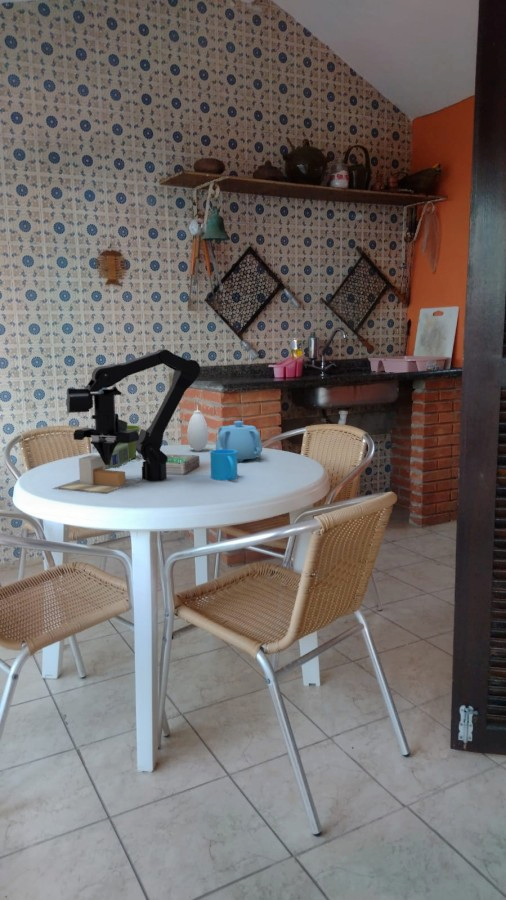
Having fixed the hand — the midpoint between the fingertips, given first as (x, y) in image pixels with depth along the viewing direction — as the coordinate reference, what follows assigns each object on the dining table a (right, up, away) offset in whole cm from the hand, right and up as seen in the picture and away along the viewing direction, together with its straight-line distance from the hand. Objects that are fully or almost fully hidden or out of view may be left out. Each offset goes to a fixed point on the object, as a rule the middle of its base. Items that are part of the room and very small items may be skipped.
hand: (107, 464), depth 187 cm
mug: (+34, -5, +11) cm, 36 cm away
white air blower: (+21, +4, +59) cm, 63 cm away
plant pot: (-4, +1, +45) cm, 45 cm away
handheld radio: (-5, -2, +29) cm, 29 cm away
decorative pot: (+37, +1, +43) cm, 57 cm away
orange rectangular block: (-1, -5, +1) cm, 6 cm away
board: (-3, -7, 0) cm, 7 cm away
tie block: (-5, -5, +3) cm, 8 cm away
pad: (-4, -7, -5) cm, 9 cm away
